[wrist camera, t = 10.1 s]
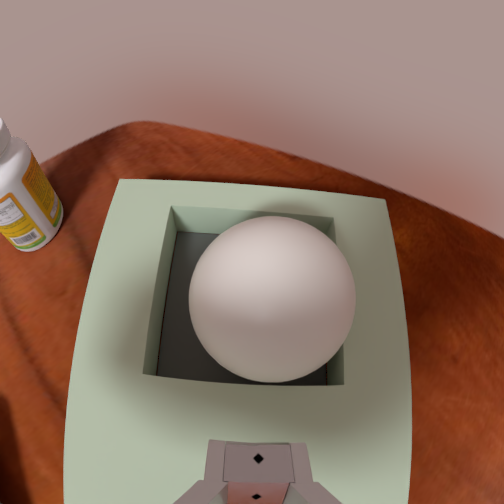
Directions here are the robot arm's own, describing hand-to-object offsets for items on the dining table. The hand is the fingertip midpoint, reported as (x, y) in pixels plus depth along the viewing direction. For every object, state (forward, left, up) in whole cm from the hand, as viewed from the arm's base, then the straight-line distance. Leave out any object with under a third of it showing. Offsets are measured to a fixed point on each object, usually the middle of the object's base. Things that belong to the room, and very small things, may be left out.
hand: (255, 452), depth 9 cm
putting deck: (0, -3, -8) cm, 9 cm away
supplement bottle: (+17, -13, -8) cm, 23 cm away
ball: (-1, -7, -4) cm, 8 cm away
